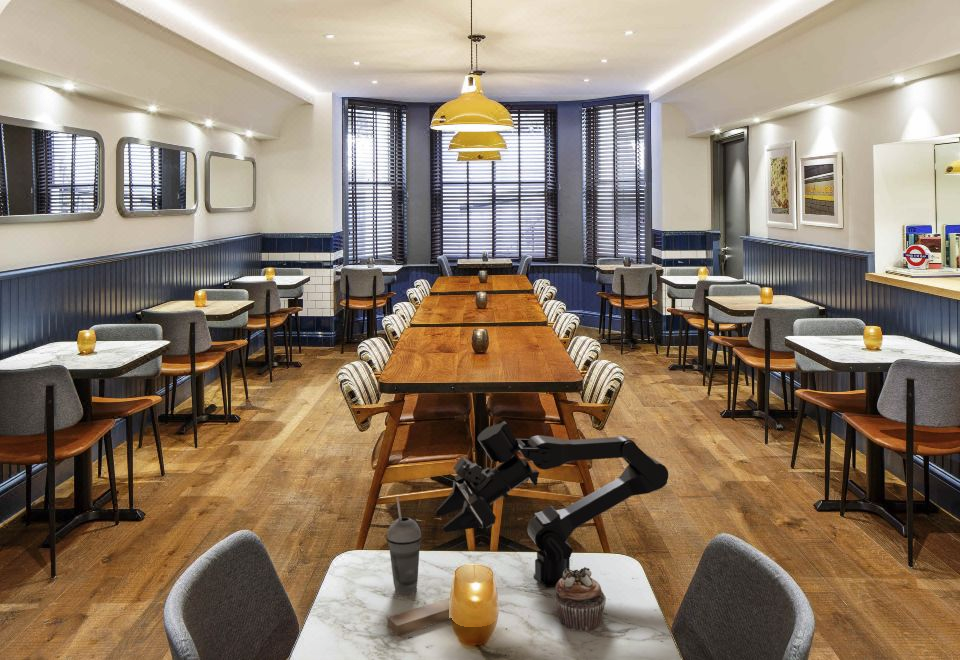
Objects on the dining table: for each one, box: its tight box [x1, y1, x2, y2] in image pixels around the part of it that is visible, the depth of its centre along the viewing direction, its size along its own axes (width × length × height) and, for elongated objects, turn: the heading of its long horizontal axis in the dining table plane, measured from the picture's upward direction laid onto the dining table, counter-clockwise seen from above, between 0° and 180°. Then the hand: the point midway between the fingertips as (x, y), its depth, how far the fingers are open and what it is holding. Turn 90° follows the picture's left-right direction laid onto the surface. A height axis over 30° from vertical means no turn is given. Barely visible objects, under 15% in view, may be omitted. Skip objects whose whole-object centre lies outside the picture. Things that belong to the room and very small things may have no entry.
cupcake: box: [554, 566, 607, 632], centre depth 159 cm, size 10×10×10 cm
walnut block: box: [386, 597, 451, 636], centre depth 161 cm, size 16×4×2 cm, turn 123°
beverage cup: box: [386, 496, 423, 596], centre depth 172 cm, size 7×7×20 cm
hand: (439, 522), depth 170 cm, fingers open, 9 cm apart
